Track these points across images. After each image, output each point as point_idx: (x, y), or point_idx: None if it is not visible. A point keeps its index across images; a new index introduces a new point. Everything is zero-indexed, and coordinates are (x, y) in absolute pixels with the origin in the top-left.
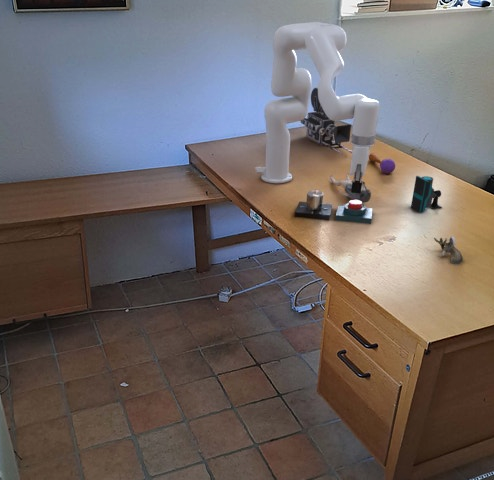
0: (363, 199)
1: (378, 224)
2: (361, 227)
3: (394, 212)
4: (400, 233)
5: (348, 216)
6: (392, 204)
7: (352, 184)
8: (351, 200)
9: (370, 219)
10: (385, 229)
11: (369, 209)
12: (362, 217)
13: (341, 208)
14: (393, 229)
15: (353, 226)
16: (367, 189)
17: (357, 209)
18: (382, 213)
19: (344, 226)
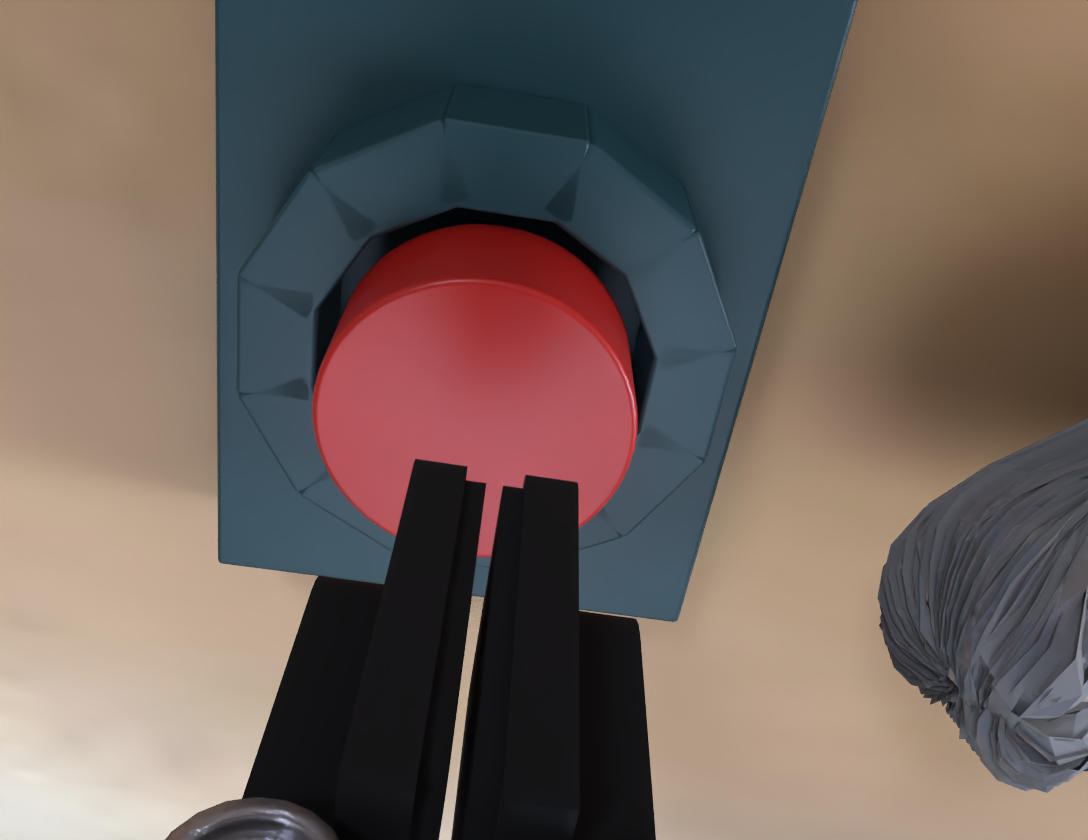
0: (899, 562)
1: (260, 597)
2: (66, 358)
3: (721, 809)
4: (36, 787)
5: (221, 177)
6: (1010, 821)
7: (361, 681)
8: (571, 346)
9: (224, 541)
10: (105, 657)
11: (626, 574)
12: (230, 434)
13: (663, 48)
14: (137, 738)
15: (64, 229)
16: (1039, 769)
17: (310, 407)
18: (684, 684)
19: (6, 55)
